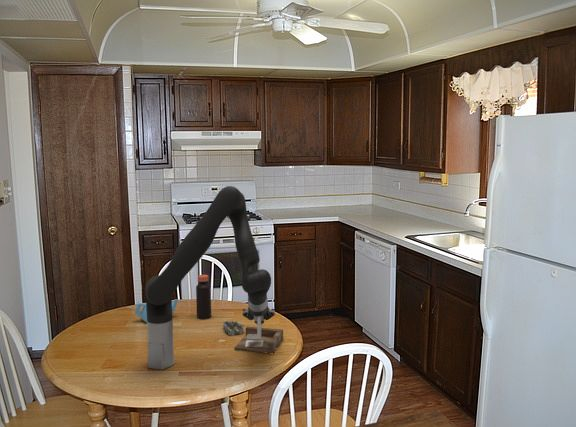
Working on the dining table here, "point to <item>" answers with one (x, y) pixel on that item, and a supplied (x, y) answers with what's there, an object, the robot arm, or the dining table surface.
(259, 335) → the bracket
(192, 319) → the dining table surface
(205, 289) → the bottle
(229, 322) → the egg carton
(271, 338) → the arena
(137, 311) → the teapot
